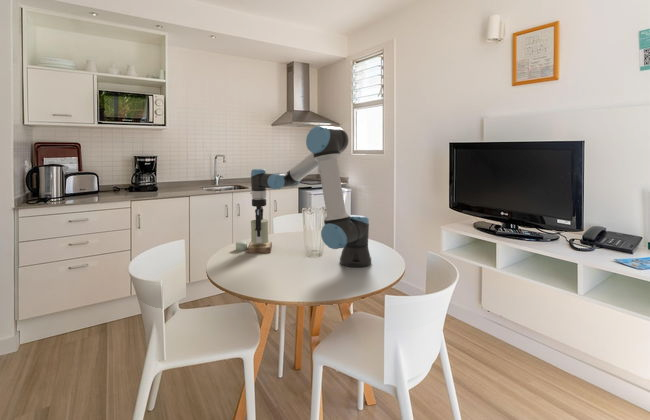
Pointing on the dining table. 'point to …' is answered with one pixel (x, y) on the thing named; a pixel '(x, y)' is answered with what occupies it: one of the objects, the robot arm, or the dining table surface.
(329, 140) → the robot arm
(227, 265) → the dining table surface
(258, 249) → the stand
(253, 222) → the can
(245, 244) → the pale green rounded block
